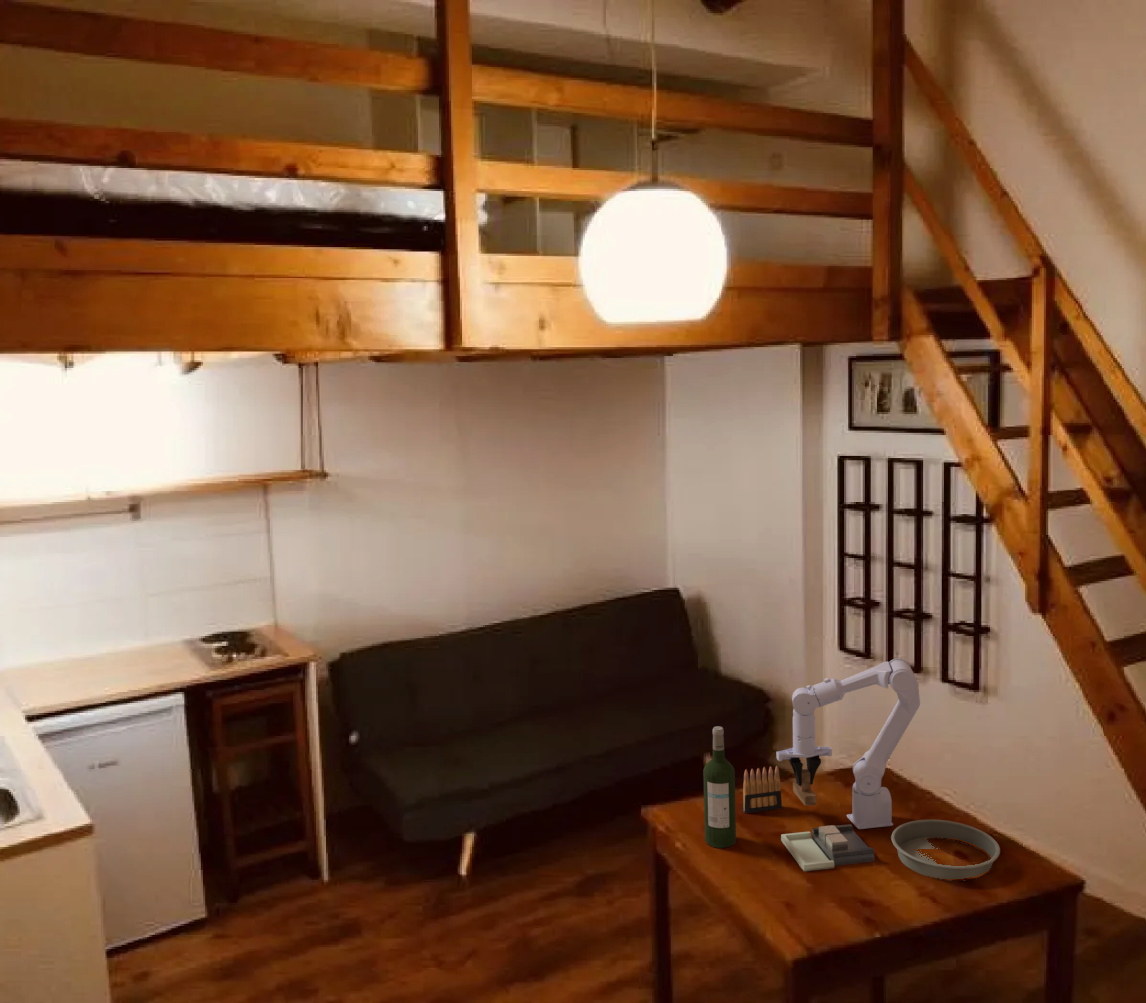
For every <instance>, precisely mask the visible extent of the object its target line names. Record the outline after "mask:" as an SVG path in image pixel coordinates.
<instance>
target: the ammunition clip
mask: <svg viewBox="0 0 1146 1003" xmlns="http://www.w3.org/2000/svg"><path fill="white" fill-rule="evenodd" d="M749 775H750V776H749ZM742 786H743V791H742V809H741V810H742V811H743V813H744V814H750V813H757V812H758V813H759V812H765V811H774V810H780V809H781V810H782V808H783V805H782V804H783V803H782V802H783V801H782V790H781V779H780V770H779V766H778V765H776V766H775V769H774V771H773V767H772V766H769V769H768V773H767V769H766V767H765V766H763V768H762V774H761V770H760V768H759V767H758V768H757V769H756V774H755V771H754V769H753V768H751V770H750V774H749V773H748V770H747V768H746V769H745V770H744V774H743V785H742Z"/></svg>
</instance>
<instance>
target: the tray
mask: <svg viewBox="0 0 1146 1003" xmlns="http://www.w3.org/2000/svg"><path fill="white" fill-rule="evenodd" d="M780 841H781V842H782V844H783V845H784V846H785V847H786V849H787V851H788V852H789V853H790V854H791V855H792V857H793V858H794V860H795V862H796V863H797V864H798V865H799V867H800V868H801V869H802V870H803V872H811V871H821V870H829V869H835V866H834V861H833V860H830V861H829V859H828V858H827V857H826V856H825V854H824V853H823V852H822V851H821V849H820V848H819V847H818V846H817V844H816V843H815V842H814V841H813V839H812V832H810V831H802V832H801V831H800V832H792V833H783V834H780Z"/></svg>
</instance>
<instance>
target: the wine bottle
mask: <svg viewBox="0 0 1146 1003" xmlns="http://www.w3.org/2000/svg"><path fill="white" fill-rule="evenodd" d="M724 734H725V733H724V728H723V726H719V725H718V726H714V727H713V728H712V757H711V759H710V760H709V761H707V763H706V764H705V765H704V767H703V773H702V774H703V775H702V776H703V805H704V806H703V809H704V810H703V811H704V814H703V816H704V841H705V843H706V844H707V845H708V846H710V847H713V848H718V849H725V848H729V847H732V846H735V844H736V842H737V829H736V828H737V823H736V822H737V820H736V819H737V818H736V776H735V775H736V773H735V772H736V771H735V768H734V766H733V765H732V764H731V762H730V761H728V759H726V755H725V742H724V741H725V739H724V738H725V737H724Z"/></svg>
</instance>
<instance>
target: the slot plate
mask: <svg viewBox="0 0 1146 1003" xmlns="http://www.w3.org/2000/svg"><path fill="white" fill-rule="evenodd" d="M834 826H835V827H836V828H837V829H838V830H839V831H840V834H842V835H843V836H844V837H845V838H846V839H847V841H848V850H843V851H834V852H831V850H830V849H829V848H828V847H827V846H826V844H825V843H824V842H823V841H822V840H821V838H820V837H819V827H812V828H811V838H812V840H813V841H814V842H815V843H816V845H817V846H818V847H819V848H820V849H821V851H822V852H823V853H824V854H825V856H826V857H827V858H828V859H829V861H830V860H833V861H834V867H835V866H844V865H846V866H847V865H854V864H862V863H871V862H872V863H873V862H875V849H874V848H873V847H871V846H870V847H869V846H868V845H867V844H866V843H865V842H864V841H863V839H862V838H860V836H859V835H858V834H857V833H856V832H855V830H854V829H853V825H852V824H851V823H850V824H841V825H834Z"/></svg>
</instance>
